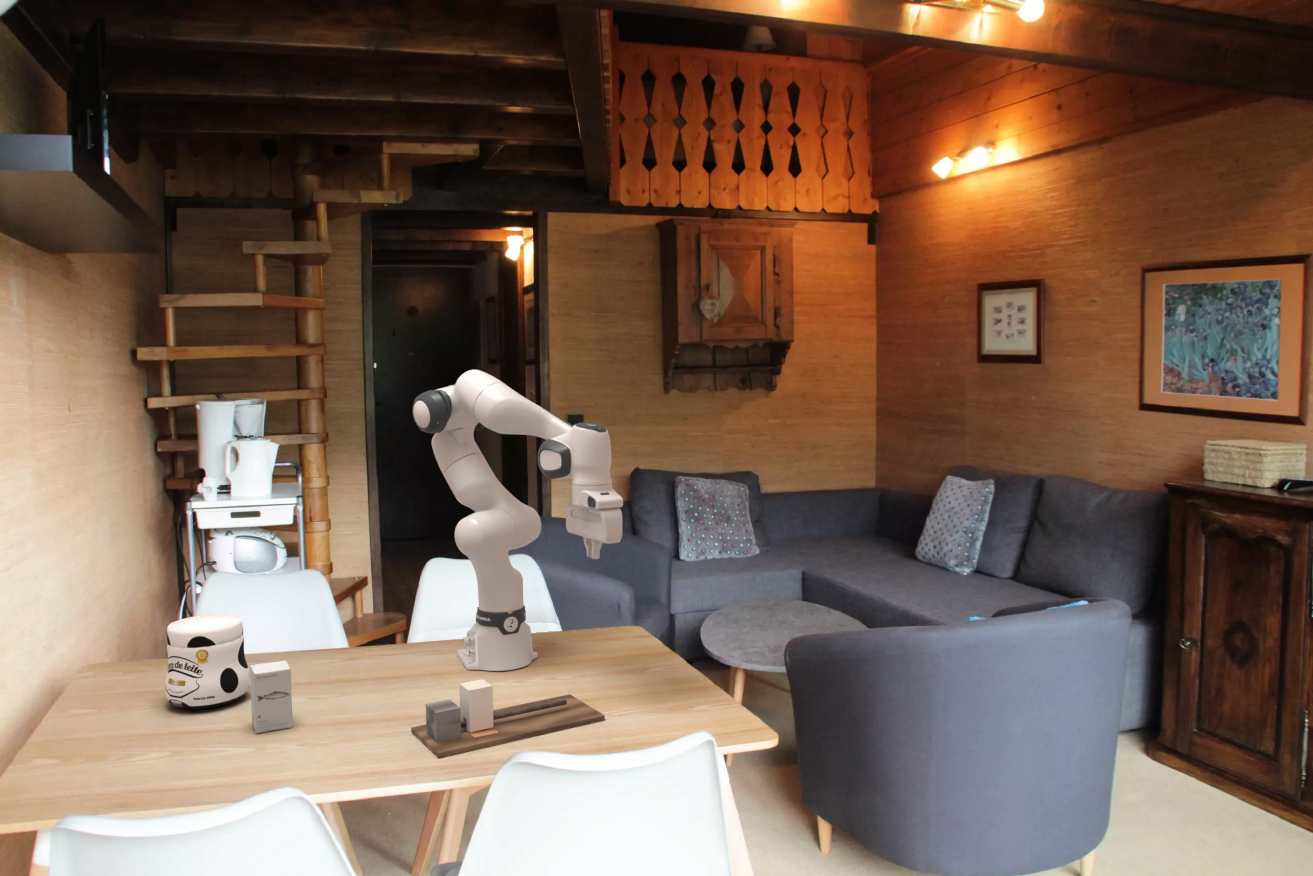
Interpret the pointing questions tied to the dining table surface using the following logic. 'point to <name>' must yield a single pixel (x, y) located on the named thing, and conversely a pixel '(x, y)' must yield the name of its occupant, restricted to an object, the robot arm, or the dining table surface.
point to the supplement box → (271, 696)
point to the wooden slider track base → (500, 724)
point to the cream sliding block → (476, 705)
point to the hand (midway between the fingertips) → (593, 558)
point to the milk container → (206, 661)
